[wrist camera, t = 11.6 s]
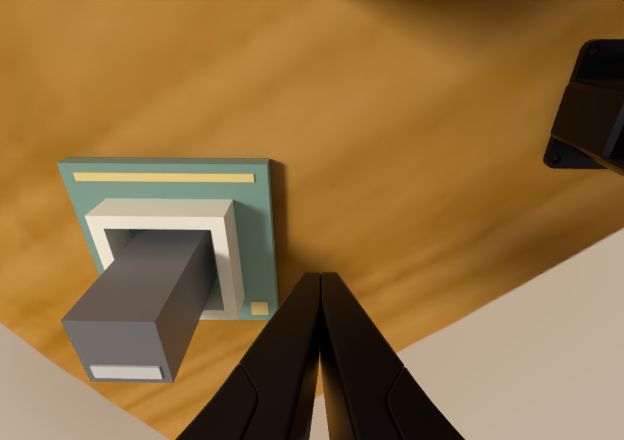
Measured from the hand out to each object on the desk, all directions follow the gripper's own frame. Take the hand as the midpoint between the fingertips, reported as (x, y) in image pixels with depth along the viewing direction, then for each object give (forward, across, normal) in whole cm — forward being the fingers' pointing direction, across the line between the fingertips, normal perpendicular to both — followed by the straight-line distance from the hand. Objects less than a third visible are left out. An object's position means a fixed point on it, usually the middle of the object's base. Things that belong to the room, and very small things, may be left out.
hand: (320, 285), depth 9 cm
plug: (+12, +9, +7) cm, 16 cm away
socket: (+12, +9, +7) cm, 17 cm away
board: (+12, +9, +7) cm, 17 cm away
